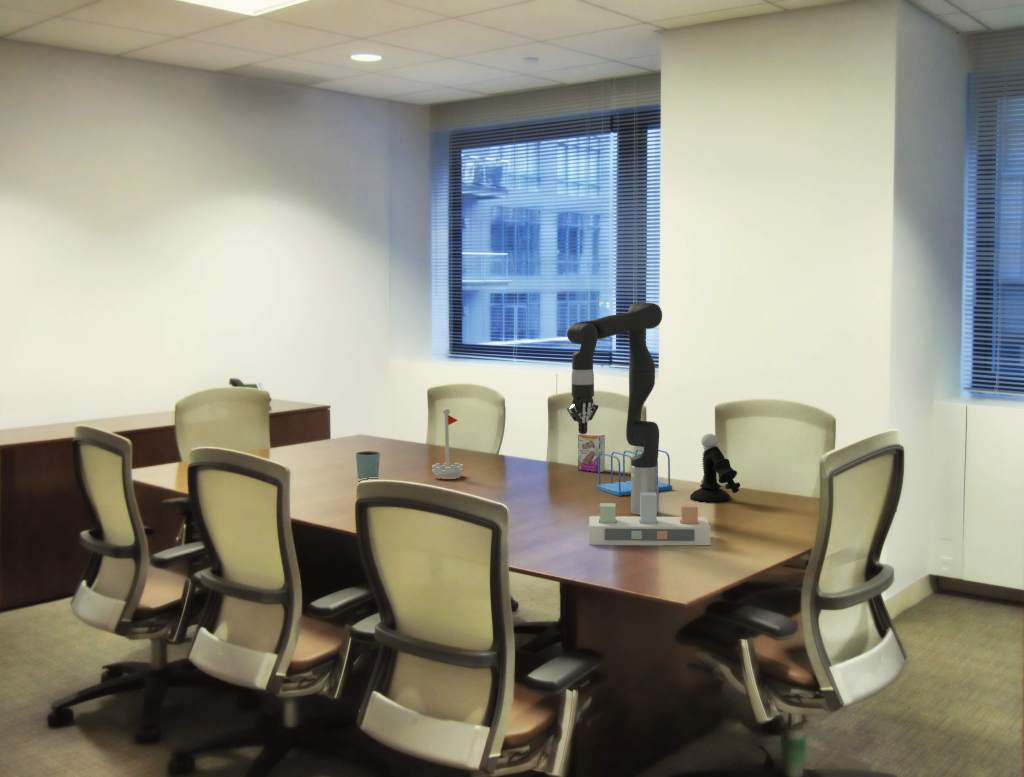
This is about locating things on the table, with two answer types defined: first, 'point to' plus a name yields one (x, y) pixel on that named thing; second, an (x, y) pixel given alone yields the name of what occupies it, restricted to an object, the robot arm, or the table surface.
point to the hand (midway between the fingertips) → (583, 433)
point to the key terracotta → (689, 514)
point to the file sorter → (624, 486)
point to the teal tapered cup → (367, 464)
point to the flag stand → (447, 453)
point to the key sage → (607, 512)
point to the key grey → (648, 508)
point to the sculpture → (714, 474)
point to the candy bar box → (591, 452)
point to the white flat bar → (648, 532)
